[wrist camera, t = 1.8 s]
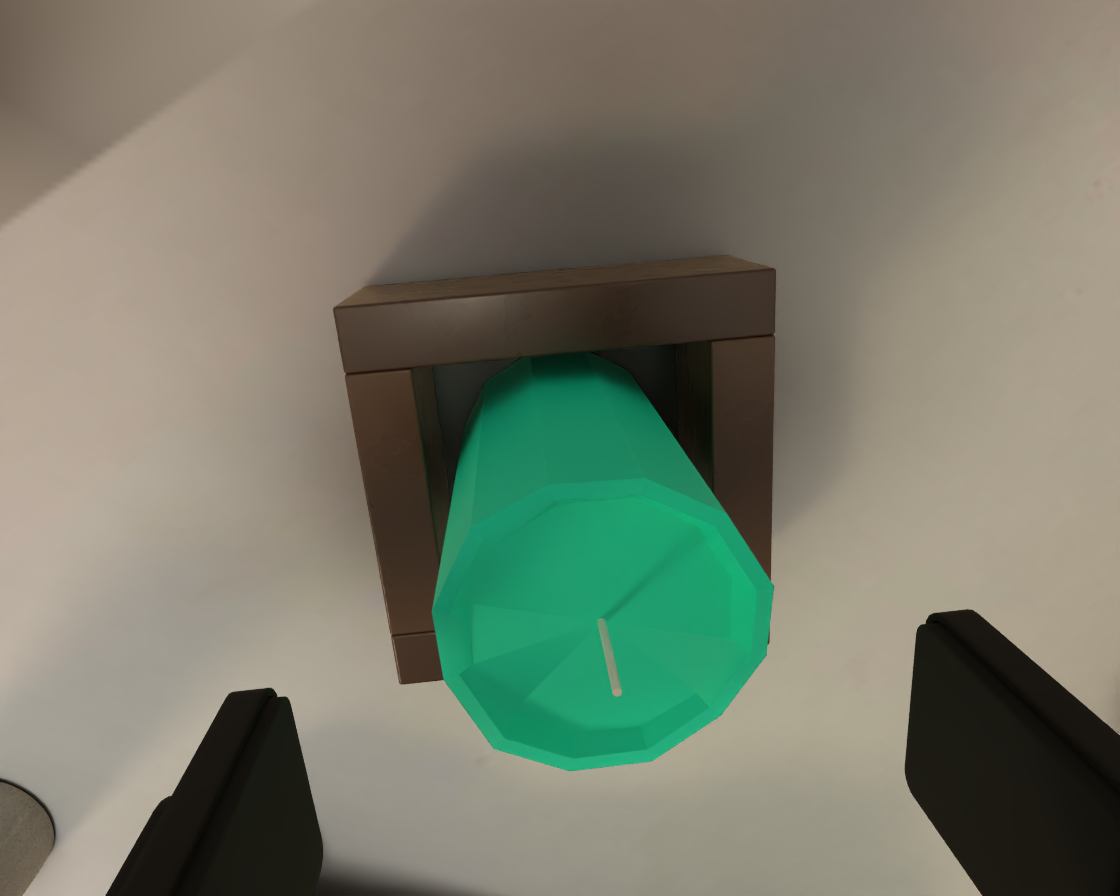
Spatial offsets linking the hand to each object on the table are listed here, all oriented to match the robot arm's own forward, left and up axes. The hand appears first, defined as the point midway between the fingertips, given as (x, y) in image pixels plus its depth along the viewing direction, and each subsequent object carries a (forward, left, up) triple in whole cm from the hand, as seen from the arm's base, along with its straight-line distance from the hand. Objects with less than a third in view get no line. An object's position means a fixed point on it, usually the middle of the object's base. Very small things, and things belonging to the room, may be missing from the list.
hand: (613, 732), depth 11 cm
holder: (0, 0, -13) cm, 13 cm away
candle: (0, 0, -13) cm, 13 cm away
